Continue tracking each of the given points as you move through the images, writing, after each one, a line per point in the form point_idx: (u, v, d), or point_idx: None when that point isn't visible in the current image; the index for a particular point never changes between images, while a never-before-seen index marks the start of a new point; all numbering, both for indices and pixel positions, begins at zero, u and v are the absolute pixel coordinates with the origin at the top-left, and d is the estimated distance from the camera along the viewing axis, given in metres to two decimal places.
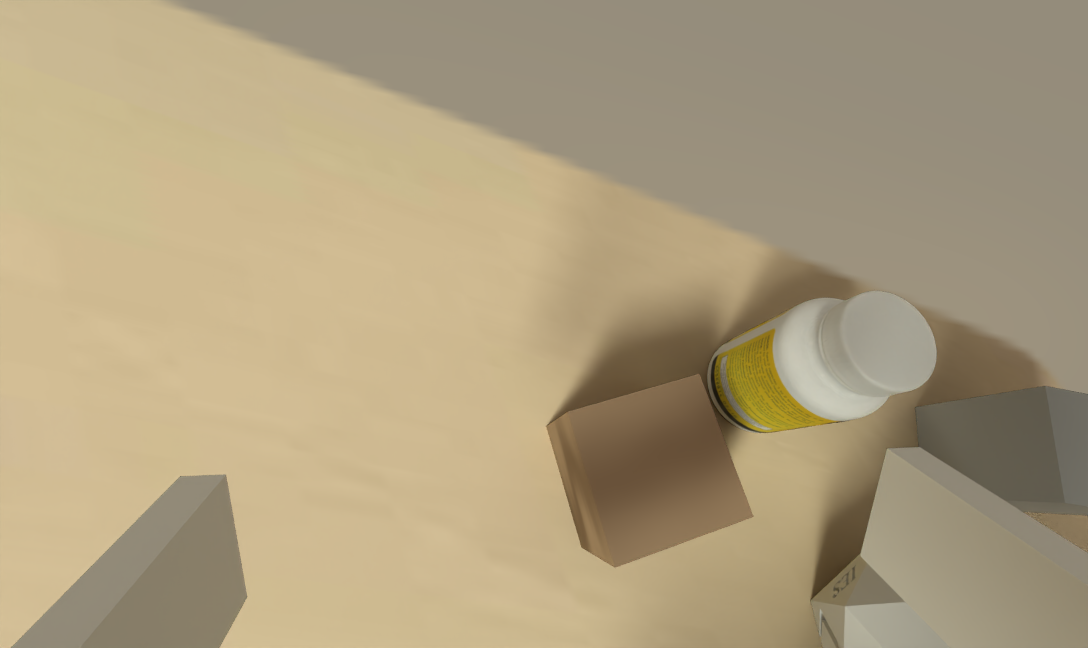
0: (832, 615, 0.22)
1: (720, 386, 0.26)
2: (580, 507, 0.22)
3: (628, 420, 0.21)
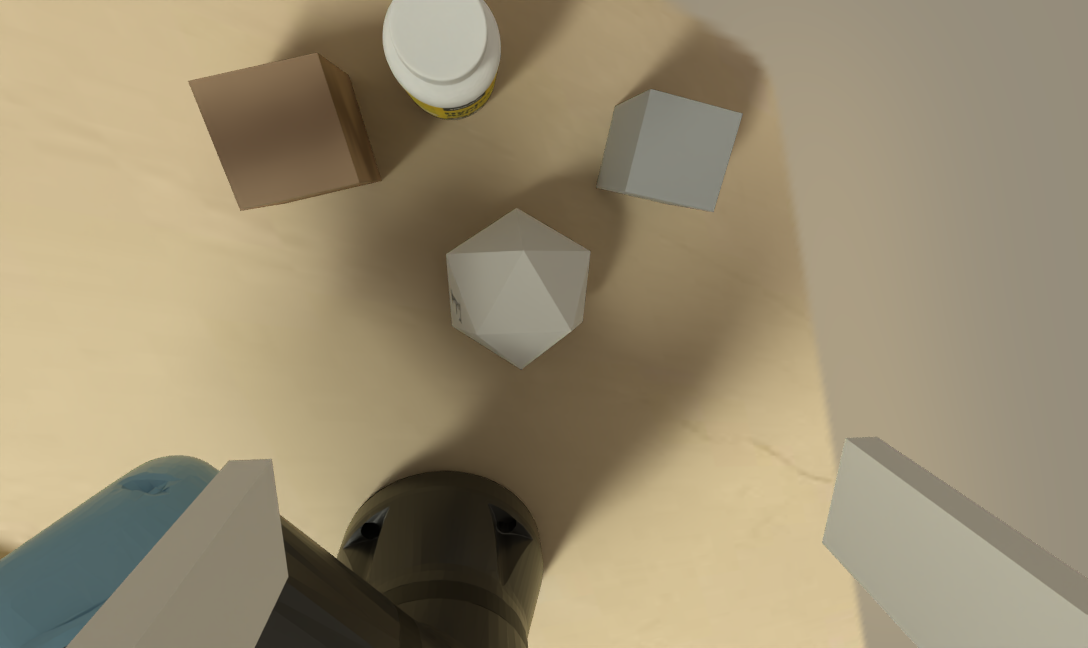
0: None
1: None
2: None
3: (246, 93, 0.24)
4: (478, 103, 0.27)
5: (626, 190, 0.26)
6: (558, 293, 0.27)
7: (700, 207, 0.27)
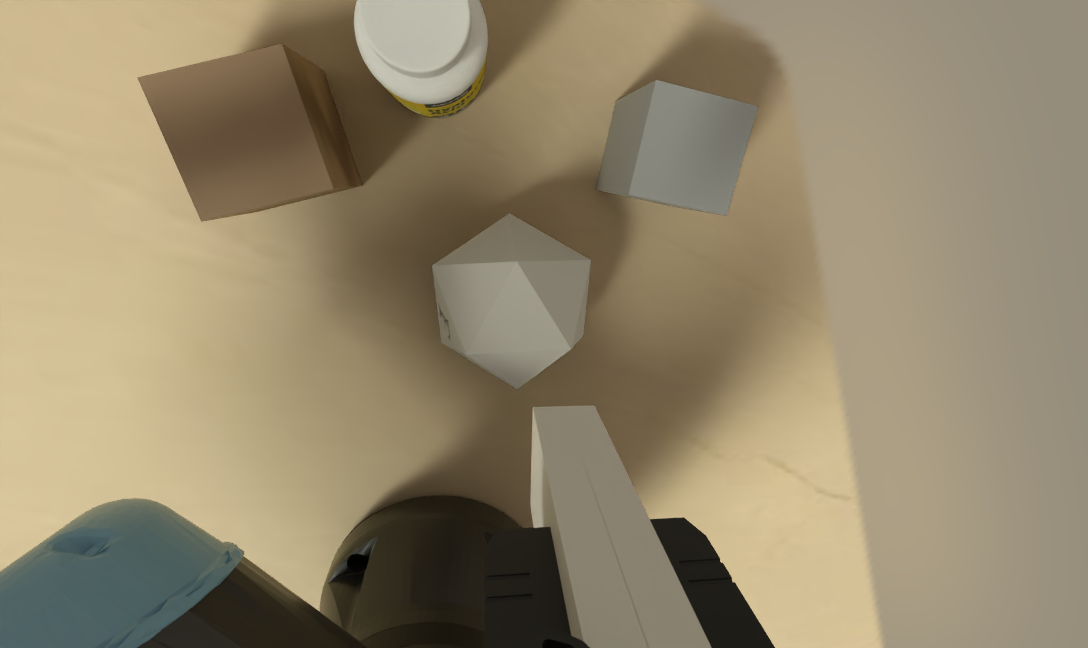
0: None
1: None
2: None
3: (204, 90, 0.21)
4: (465, 99, 0.24)
5: (630, 193, 0.24)
6: (555, 308, 0.24)
7: (712, 210, 0.24)
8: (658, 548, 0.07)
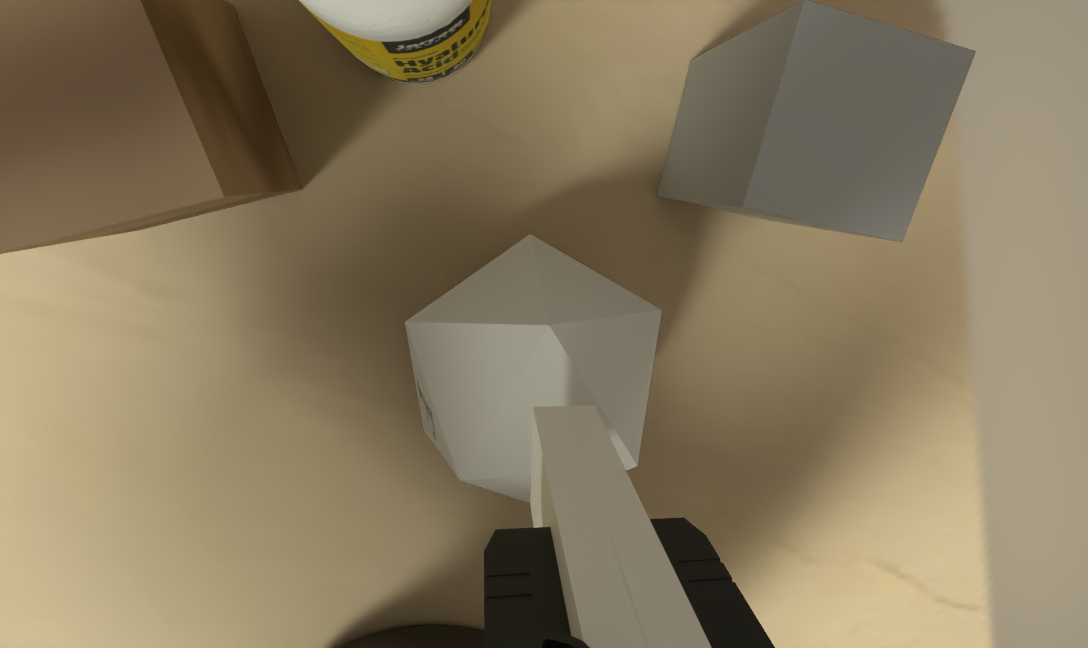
0: None
1: None
2: None
3: None
4: (458, 43, 0.14)
5: (745, 204, 0.14)
6: (612, 398, 0.14)
7: (879, 234, 0.14)
8: (658, 548, 0.07)
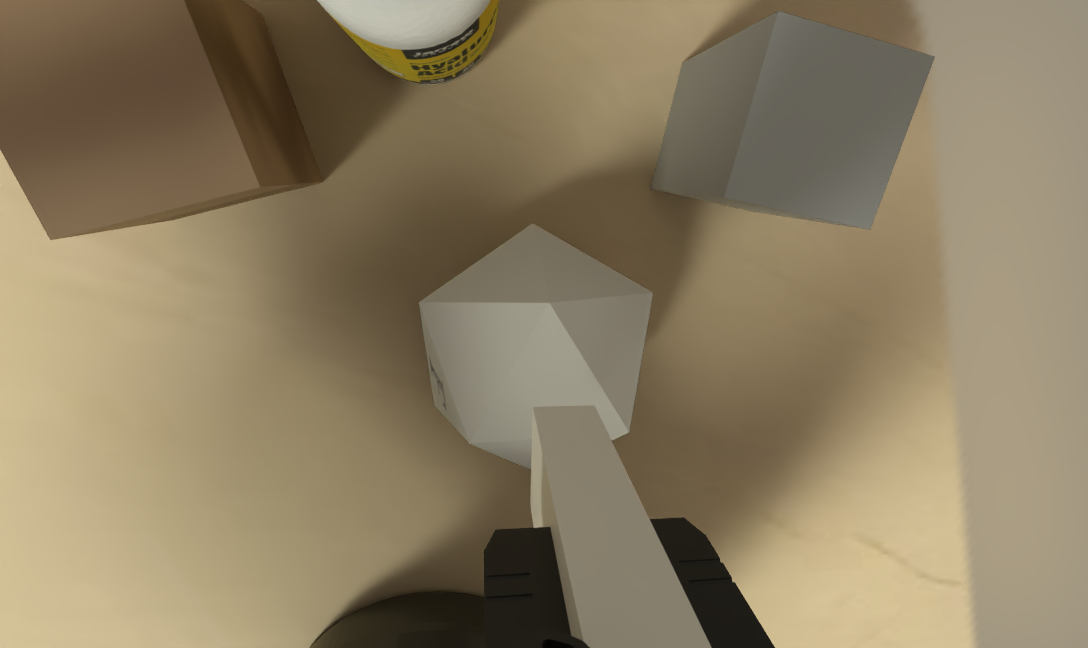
0: None
1: None
2: None
3: (35, 24, 0.13)
4: (468, 49, 0.16)
5: (726, 195, 0.15)
6: (607, 371, 0.16)
7: (849, 222, 0.16)
8: (658, 548, 0.07)
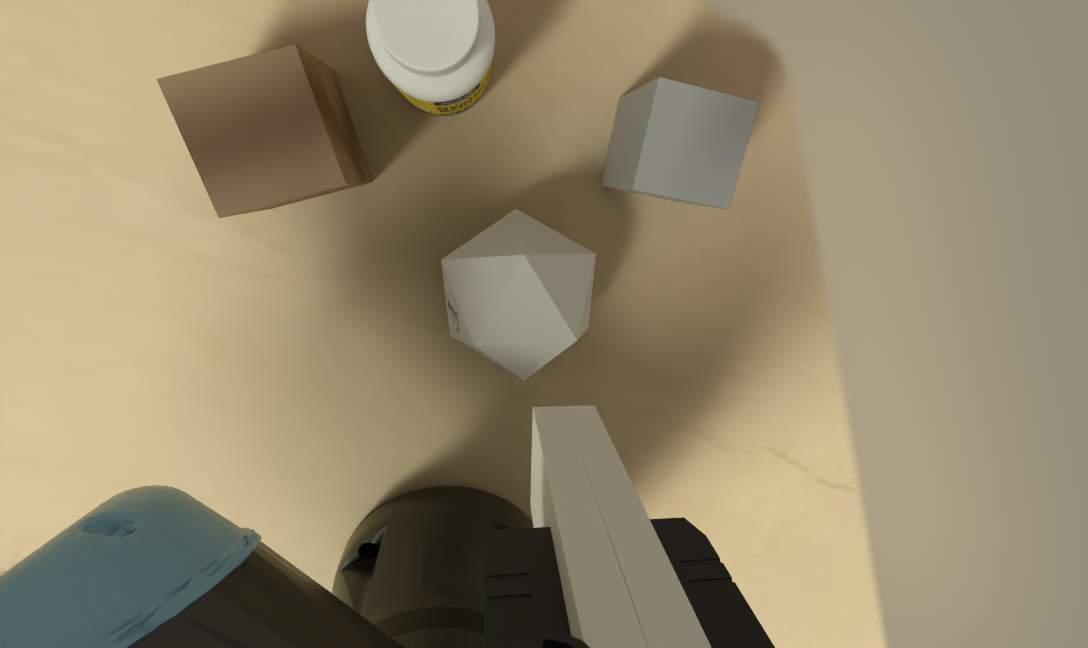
0: None
1: None
2: None
3: (220, 90, 0.22)
4: (472, 97, 0.25)
5: (634, 187, 0.24)
6: (562, 300, 0.25)
7: (714, 204, 0.25)
8: (658, 548, 0.07)
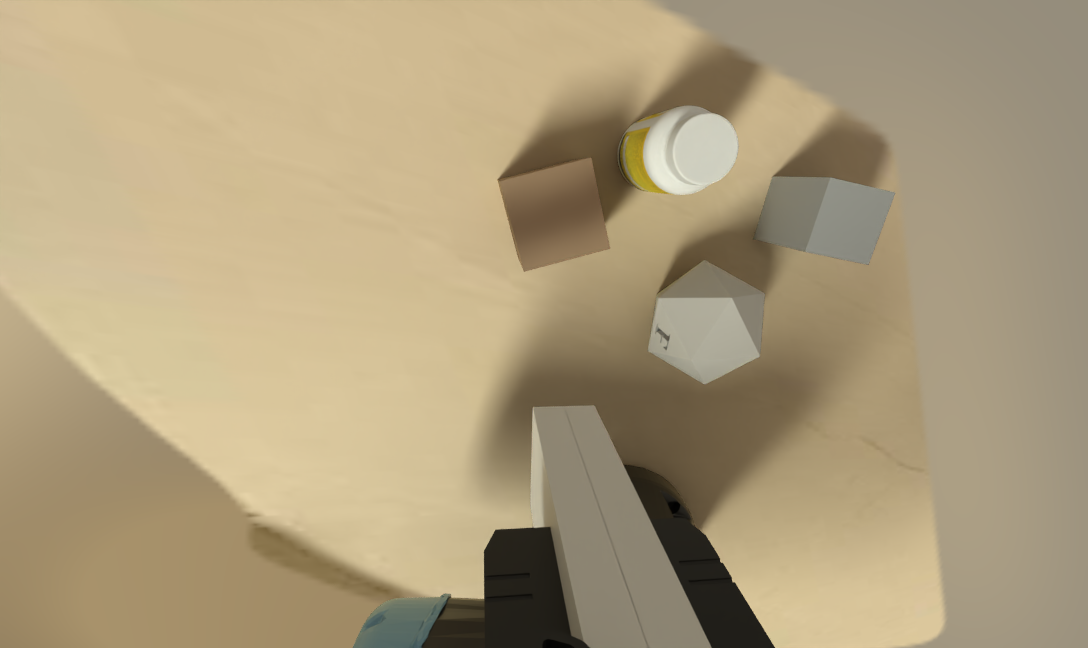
0: (656, 302, 0.39)
1: (621, 158, 0.37)
2: (513, 236, 0.36)
3: (539, 188, 0.32)
4: None
5: (806, 250, 0.35)
6: (751, 328, 0.35)
7: (859, 261, 0.35)
8: (658, 548, 0.07)
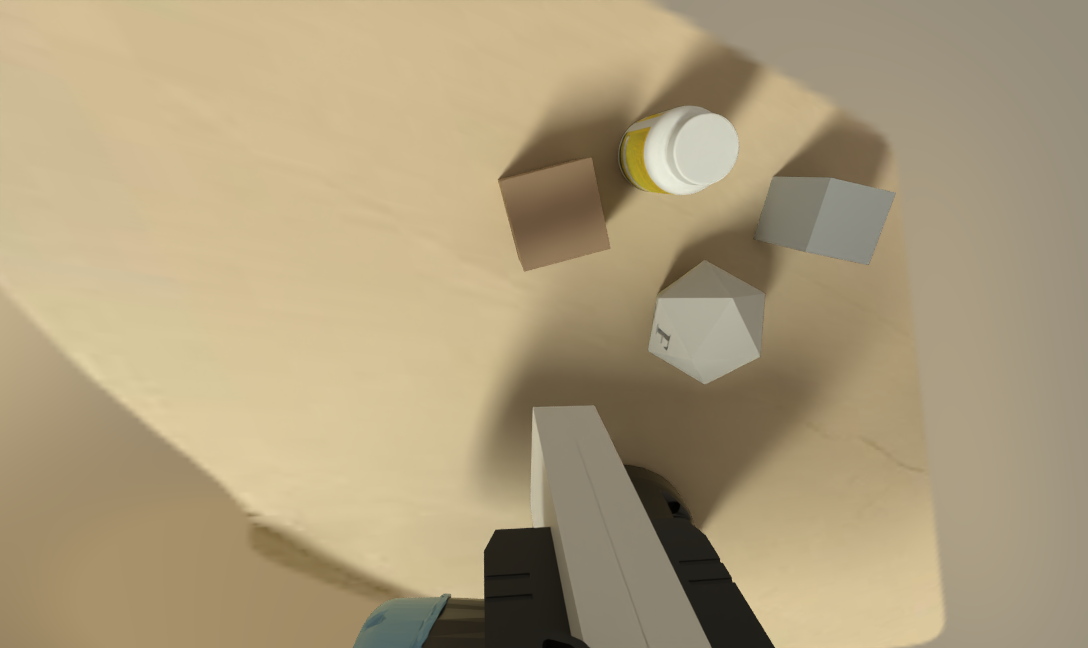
0: (657, 302, 0.39)
1: (622, 158, 0.37)
2: (513, 235, 0.36)
3: (539, 187, 0.32)
4: None
5: (806, 251, 0.35)
6: (751, 328, 0.35)
7: (859, 261, 0.35)
8: (658, 548, 0.07)
